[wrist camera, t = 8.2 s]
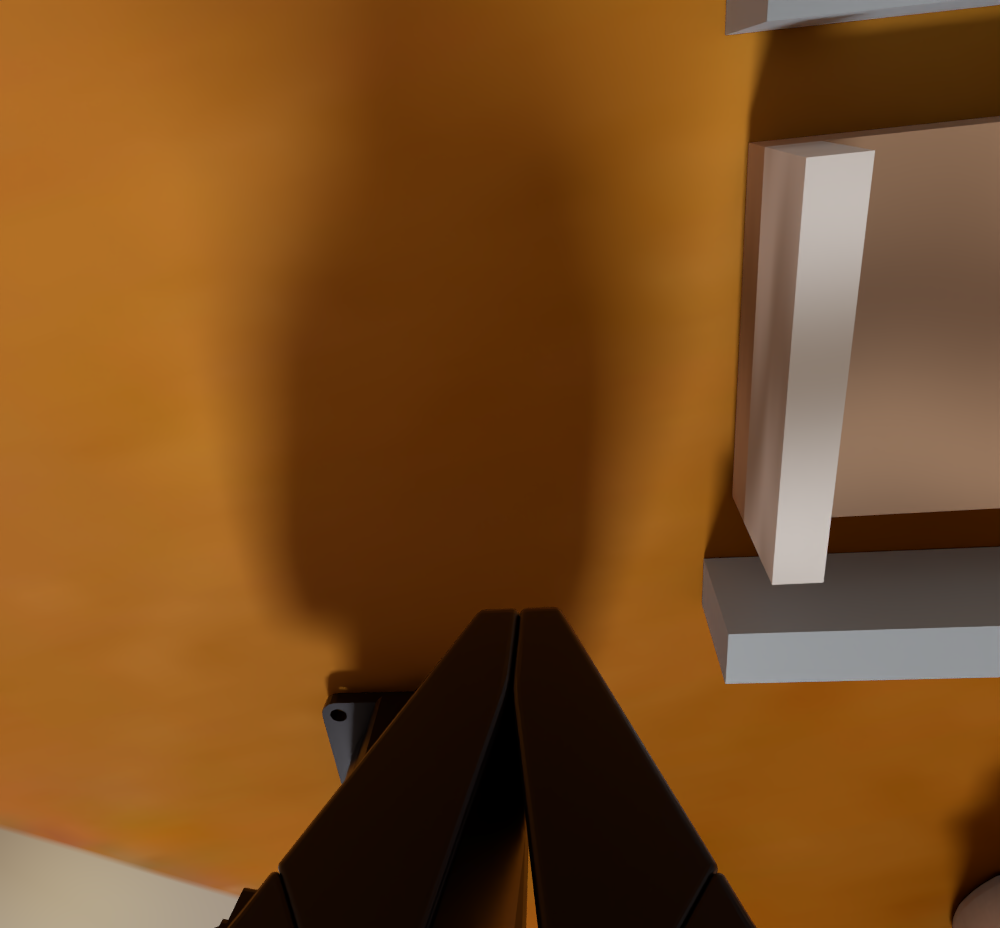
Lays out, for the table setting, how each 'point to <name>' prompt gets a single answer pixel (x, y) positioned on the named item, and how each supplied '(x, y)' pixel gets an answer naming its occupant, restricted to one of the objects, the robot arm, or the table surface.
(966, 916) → the cupcake
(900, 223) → the l-shaped bracket
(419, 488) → the table surface
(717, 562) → the bay
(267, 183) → the table surface
